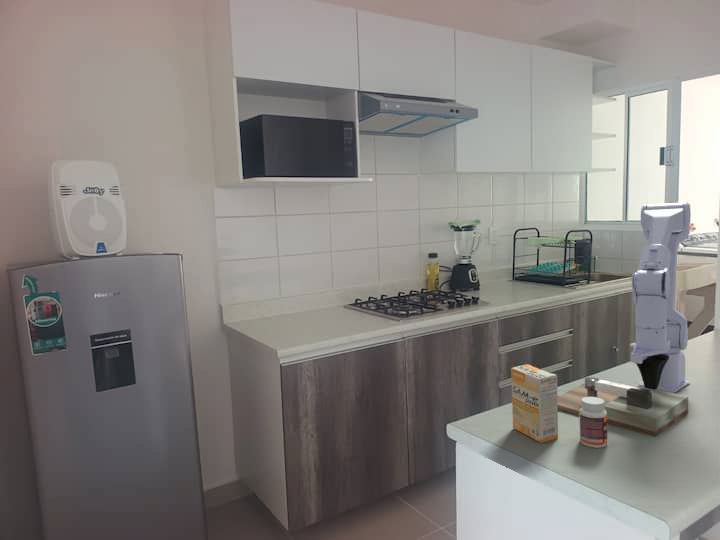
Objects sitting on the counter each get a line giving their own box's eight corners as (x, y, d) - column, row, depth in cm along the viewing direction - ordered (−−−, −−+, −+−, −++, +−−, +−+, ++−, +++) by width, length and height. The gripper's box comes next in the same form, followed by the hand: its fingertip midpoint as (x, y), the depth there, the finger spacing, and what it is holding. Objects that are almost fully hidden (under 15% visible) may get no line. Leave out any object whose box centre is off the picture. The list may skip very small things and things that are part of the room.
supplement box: (511, 429, 105) (509, 367, 104) (530, 423, 107) (528, 363, 106) (540, 444, 98) (538, 378, 96) (559, 438, 99) (557, 373, 98)
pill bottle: (610, 448, 94) (610, 405, 93) (583, 448, 95) (582, 404, 94) (603, 437, 99) (603, 395, 98) (577, 436, 100) (576, 395, 99)
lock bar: (582, 388, 114) (582, 379, 114) (589, 384, 116) (588, 376, 116) (646, 403, 104) (646, 393, 103) (652, 399, 106) (652, 389, 105)
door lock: (583, 387, 125) (582, 362, 125) (688, 412, 107) (688, 382, 107) (546, 406, 116) (546, 378, 115) (655, 436, 98) (655, 404, 97)
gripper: (645, 317, 116) (646, 375, 117) (615, 330, 107) (616, 392, 108) (680, 321, 110) (680, 382, 112) (651, 335, 101) (651, 401, 103)
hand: (651, 388), depth 110 cm, fingers closed
